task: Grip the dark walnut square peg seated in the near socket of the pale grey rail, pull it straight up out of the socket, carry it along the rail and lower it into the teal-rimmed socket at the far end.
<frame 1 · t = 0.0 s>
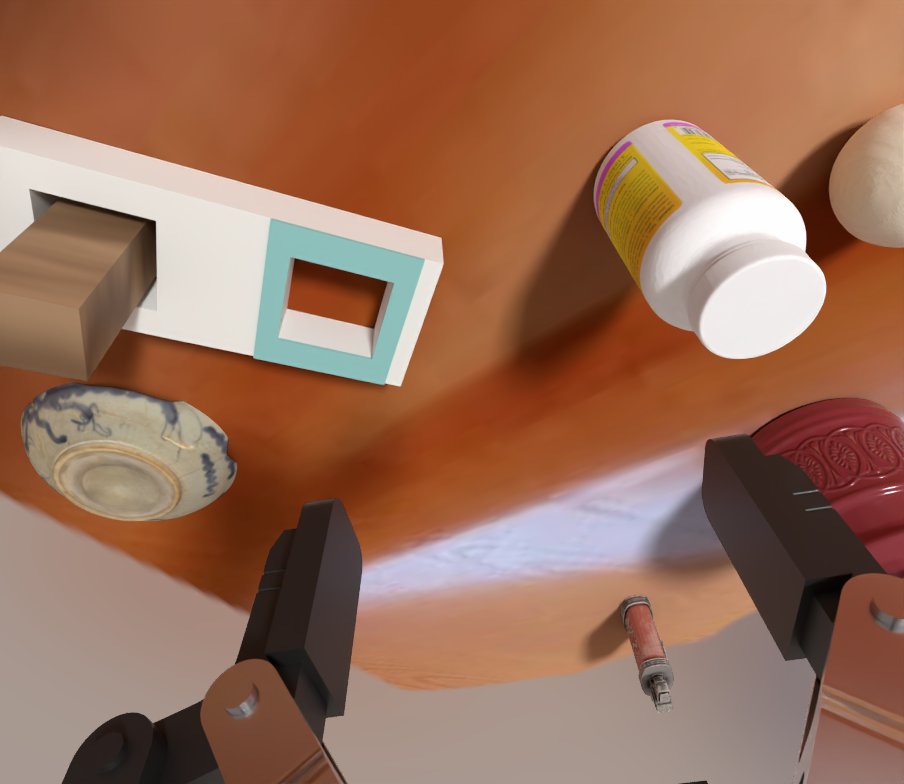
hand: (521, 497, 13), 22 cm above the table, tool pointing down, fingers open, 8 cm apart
baseball: (874, 149, 31), on the table
socket rail: (235, 256, 33), on the table
supplement bottle: (650, 178, 31), on the table
lighter: (635, 610, 65), on the table
decorative bowl: (136, 448, 43), on the table
canister: (807, 449, 47), on the table
walnut peg: (121, 228, 31), resting in socket rail
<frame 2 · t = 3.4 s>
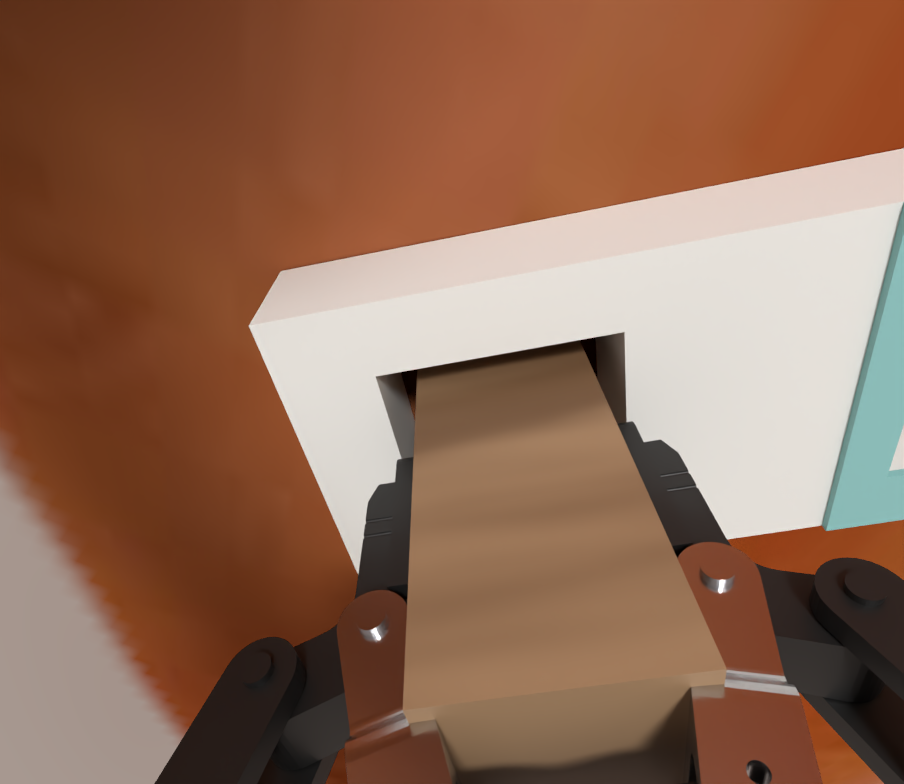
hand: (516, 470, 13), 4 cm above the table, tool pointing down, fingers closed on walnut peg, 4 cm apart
socket rail: (713, 346, 16), on the table
walnut peg: (501, 382, 16), resting in socket rail, touching gripper
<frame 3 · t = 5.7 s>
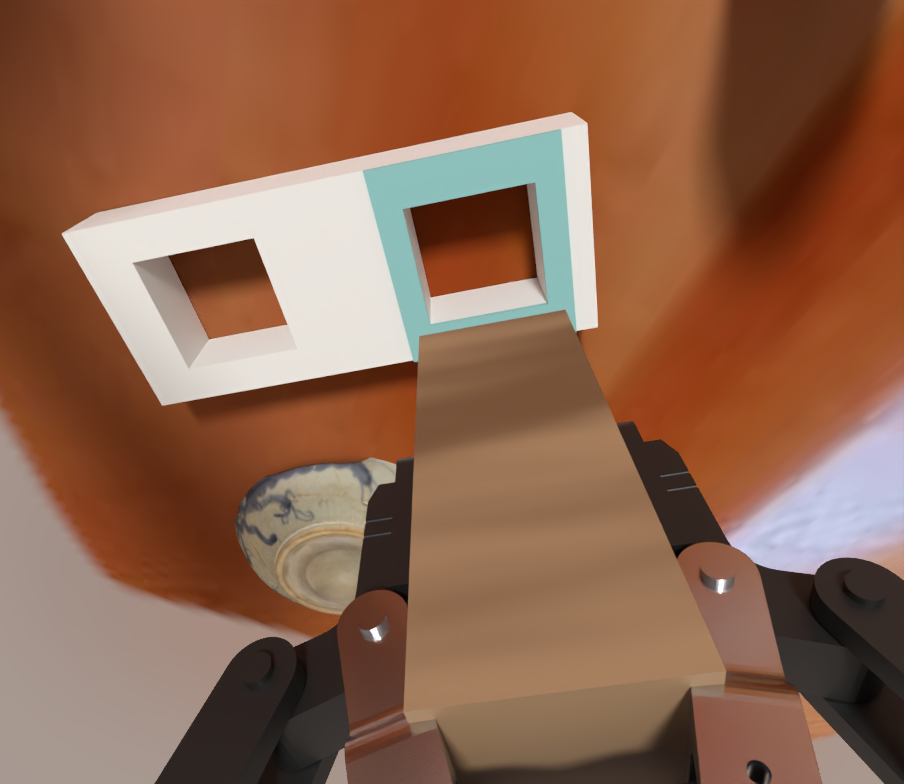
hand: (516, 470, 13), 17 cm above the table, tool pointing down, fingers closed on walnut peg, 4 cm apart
socket rail: (354, 259, 28), on the table
decorative bowl: (349, 530, 39), on the table
walnut peg: (501, 383, 16), point 13 cm above the table, touching gripper
when the fingers open (5 cm above the table, at t = 8.1 s): walnut peg drops 1 cm, resting in socket rail.
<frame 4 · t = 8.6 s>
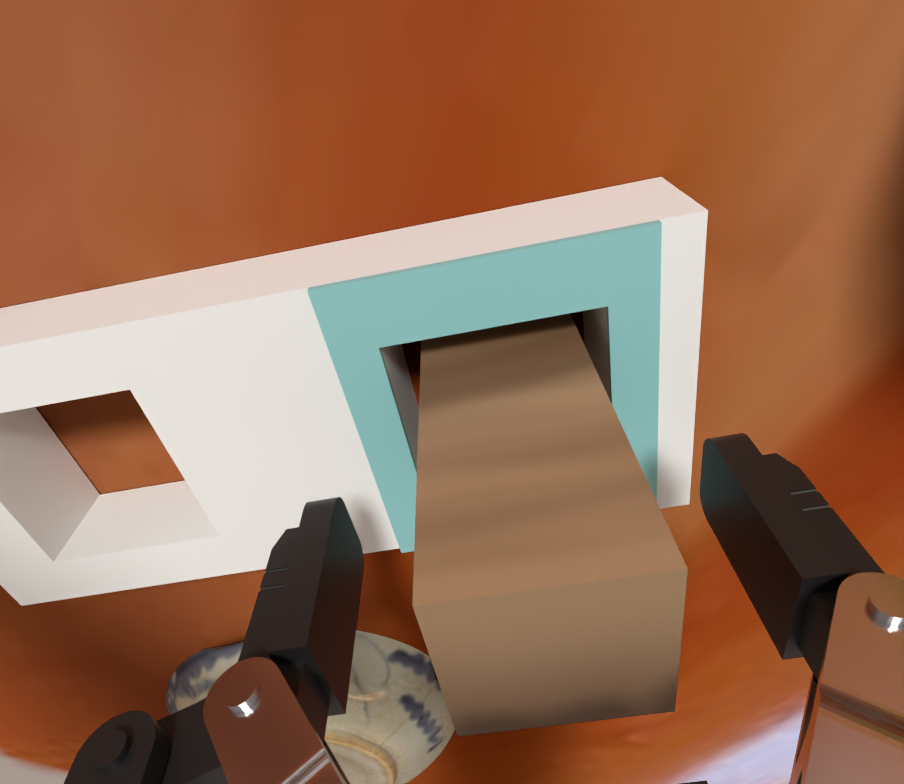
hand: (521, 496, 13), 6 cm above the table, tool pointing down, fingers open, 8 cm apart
socket rail: (310, 390, 18), on the table
decorative bowl: (320, 699, 30), on the table
walnut peg: (498, 357, 18), resting in socket rail
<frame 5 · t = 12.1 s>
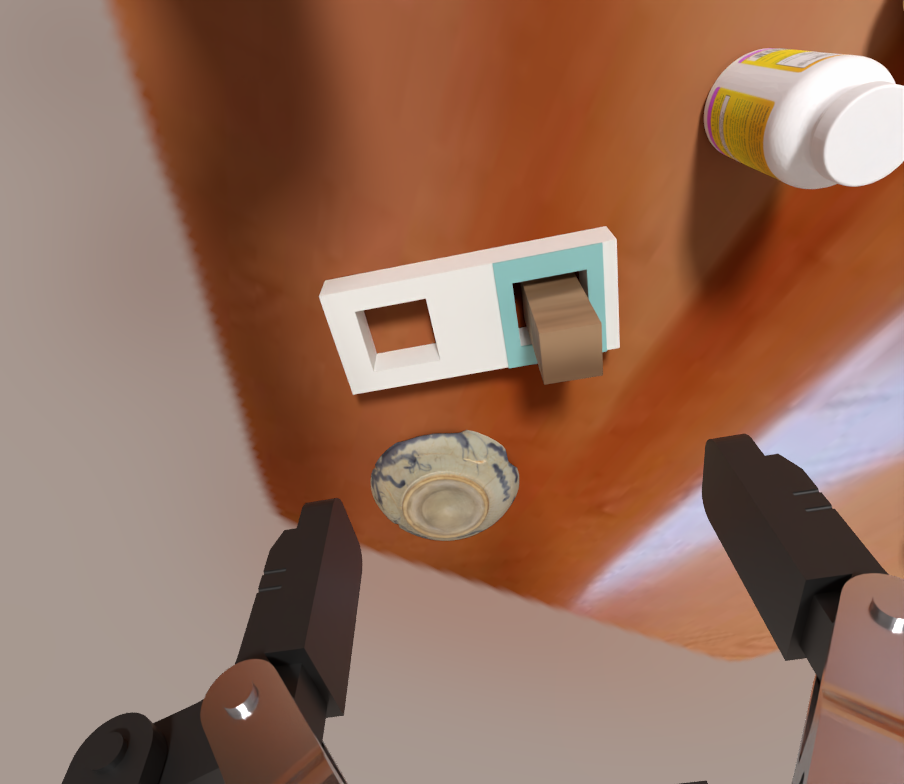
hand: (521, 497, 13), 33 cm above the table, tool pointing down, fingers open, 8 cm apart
socket rail: (472, 306, 46), on the table
supplement bottle: (748, 103, 39), on the table
decorative bowl: (445, 481, 58), on the table
walnut peg: (546, 292, 46), resting in socket rail
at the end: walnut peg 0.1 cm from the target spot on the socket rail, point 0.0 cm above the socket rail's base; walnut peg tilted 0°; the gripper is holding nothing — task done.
